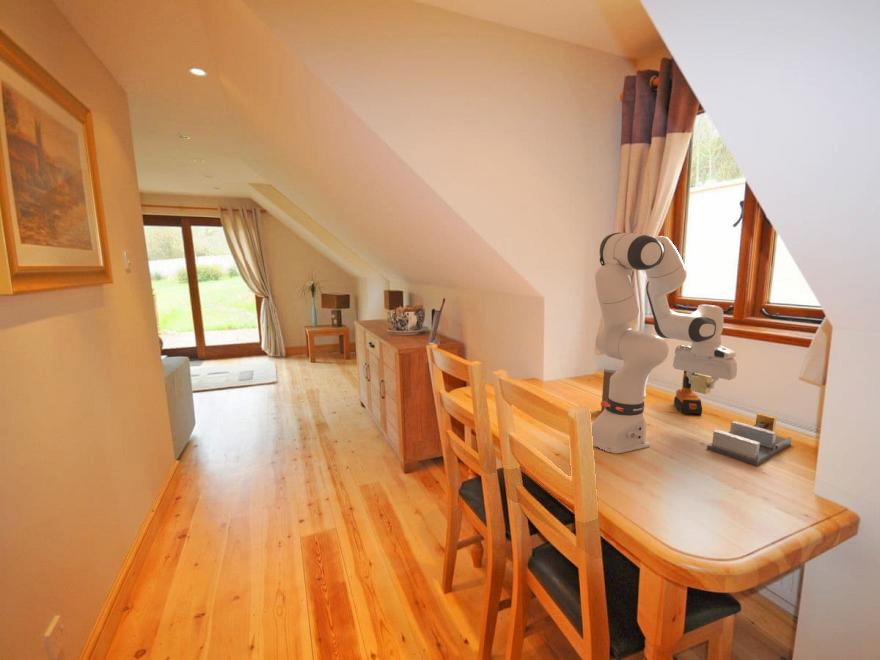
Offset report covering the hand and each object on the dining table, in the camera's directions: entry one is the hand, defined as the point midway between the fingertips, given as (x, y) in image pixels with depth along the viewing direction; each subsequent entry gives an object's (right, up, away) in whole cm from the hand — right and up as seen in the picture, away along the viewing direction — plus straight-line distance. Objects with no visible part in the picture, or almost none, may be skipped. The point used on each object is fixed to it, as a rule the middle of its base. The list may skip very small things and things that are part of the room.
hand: (700, 385), depth 149 cm
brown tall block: (-24, -14, +19) cm, 34 cm away
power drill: (+9, -14, +21) cm, 27 cm away
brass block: (0, -2, 0) cm, 2 cm away
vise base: (+9, -19, -12) cm, 24 cm away
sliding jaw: (+14, -17, -9) cm, 24 cm away
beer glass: (-2, -10, +43) cm, 44 cm away
